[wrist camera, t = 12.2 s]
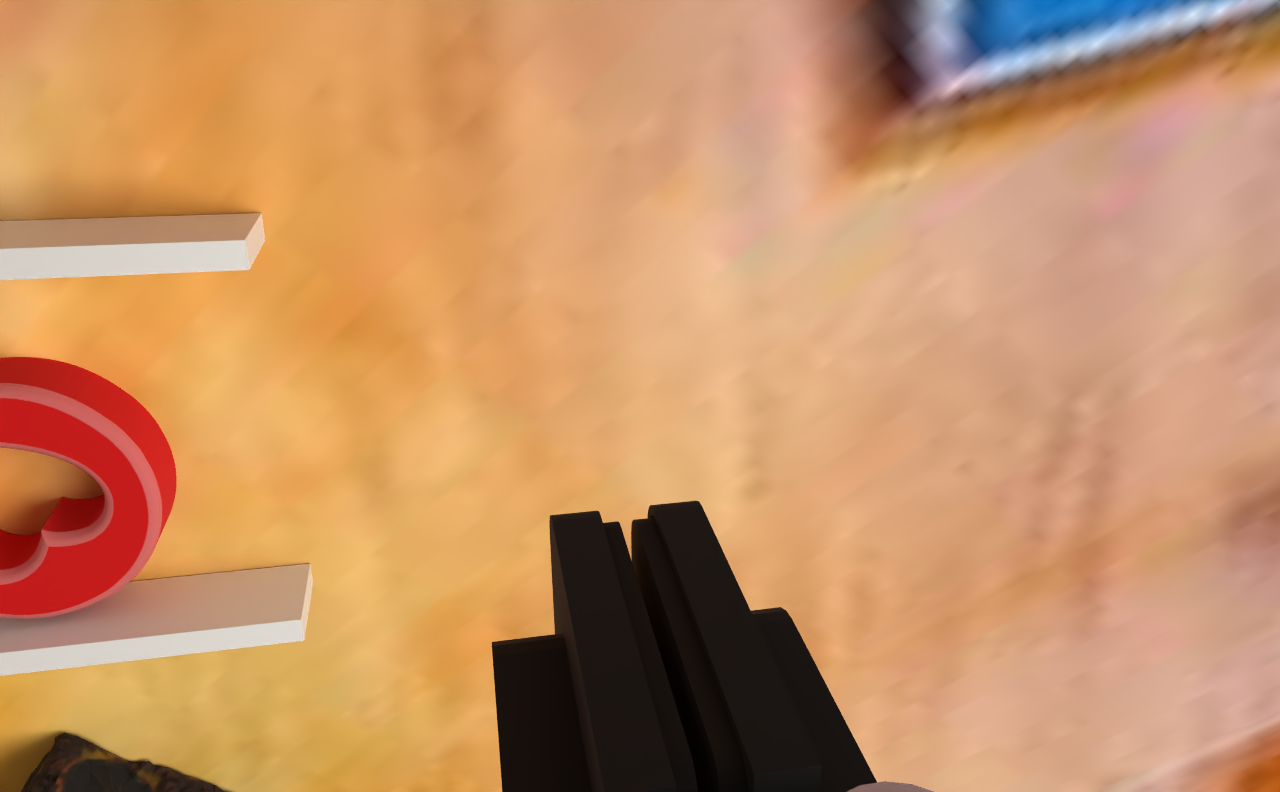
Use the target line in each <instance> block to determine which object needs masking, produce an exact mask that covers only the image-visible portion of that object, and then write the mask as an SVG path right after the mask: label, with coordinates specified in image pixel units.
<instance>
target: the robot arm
mask: <svg viewBox="0 0 1280 792" xmlns="http://www.w3.org/2000/svg"><path fill="white" fill-rule="evenodd" d="M631 542H632V561H631V558H630V555H629V551H628V548H627V545H626V542H625V538H624V535H623V532H622V529H621V526H620V523H619V522H609V523H603V522H602V519H601V515H600V513H599V511H590V512H580V513H570V514H560V515H550V544H551V564H552V584H553V603H554V623H555V635H547V636H538V637H530V638H522V639H513V640H505V641H497V642H492V652H493V666H494V680H495V694H496V708H497V722H498V736H499V749H500V763H501V777H502V791H503V792H933V791H930V790H927V789H924V788H921V787H918V786H915V785H912V784H904V783H895V782H878V783H877V781H876V779H875V778H874V776H873V774H872V772H871V770H870V768H869V766H868V764H867V762H866V760H865V758H864V756H863V754H862V753H861V751H860V749H859V747H858V745H857V743H856V741H855V739H854V737H853V735H852V733H851V731H850V730H849V728H848V726H847V724H846V722H845V720H844V718H843V716H842V714H841V712H840V710H839V708H838V707H837V705H836V703H835V701H834V699H833V697H832V695H831V693H830V691H829V689H828V687H827V685H826V683H825V682H824V680H823V678H822V676H821V674H820V672H819V670H818V668H817V666H816V664H815V662H814V660H813V659H812V657H811V655H810V653H809V651H808V649H807V647H806V645H805V643H804V641H803V639H802V637H801V636H800V634H799V632H798V630H797V628H796V626H795V624H794V622H793V620H792V618H791V617H790V616H789V614H788V613H787V611H786V610H784V609H783V608H781V607H779V608H770V609H762V610H754V611H750V609H749V606H748V604H747V602H746V600H745V598H744V596H743V594H742V591H741V589H740V587H739V585H738V583H737V581H736V579H735V576H734V574H733V572H732V570H731V568H730V566H729V563H728V561H727V559H726V557H725V555H724V553H723V551H722V548H721V546H720V544H719V542H718V540H717V538H716V536H715V533H714V531H713V529H712V527H711V525H710V523H709V520H708V518H707V516H706V514H705V512H704V510H703V508H702V506H701V504H700V502H699V501H689V502H679V503H669V504H659V505H650V507H649V510H648V519H638V520H633V521H632V530H631Z"/></svg>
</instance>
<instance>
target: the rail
mask: <svg viewBox="0 0 1280 792" xmlns="http://www.w3.org/2000/svg"><path fill="white" fill-rule="evenodd" d="M264 241H265V235H264V227H263V220H262V213H246V214H214V215H181V216H148V217H116V218H83V219H51V220H18V221H0V280H16V279H40V278H64V277H88V276H112V275H136V274H160V273H184V272H208V271H232V270H249V269H250V268H251V266H252V264H253V262H254V260H255V258H256V256H257V255H258V253H259V251H260V249H261V247H262V245H263V243H264ZM312 587H313V579H312V572H311V565H310V564H300V565H290V566H281V567H271V568H261V569H251V570H241V571H231V572H221V573H211V574H201V575H191V576H181V577H171V578H161V579H151V580H141V581H131V582H129V583H128V584H126V585H125V586H124V587H123V588H121V589H120V590H119V591H117V592H116V593H114V594H112V595H110V596H109V597H107V598H105V599H103V600H101V601H99V602H97V603H94V604H92V605H90V606H87V607H85V608H82V609H79V610H76V611H73V612H69V613H66V614H61V615H56V616H51V617H43V618H31V619H18V618H4V617H0V676H3V675H12V674H20V673H29V672H38V671H46V670H55V669H64V668H72V667H81V666H90V665H98V664H107V663H116V662H124V661H133V660H142V659H150V658H159V657H167V656H176V655H185V654H193V653H202V652H211V651H219V650H228V649H237V648H245V647H254V646H263V645H271V644H280V643H288V642H297V641H304V638H305V632H306V625H307V619H308V613H309V606H310V600H311V593H312Z"/></svg>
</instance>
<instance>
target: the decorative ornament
mask: <svg viewBox="0 0 1280 792" xmlns="http://www.w3.org/2000/svg"><path fill="white" fill-rule="evenodd" d="M0 447H2V448H11V449H20V450H26V451H32V452H37V453H42V454H46V455H49V456H53V457H56V458H59V459H62V460H64V461H67V462H69V463H72V464H74V465H76V466H77V467H79V468H81V469H82V470H84V471H85V472H87V473H88V474H89V475H90V476H91V477H92V478H94V479H95V481H96V482H97V483H98V484H99V485H100V487H101V488H102V490H103V492H104V495H103V496H100V497H96V498H90V499H70V498H66V497H62V498H61V500H60V502H59V503H58V505H57V506H56V508H55V509H54V511H53V512H52V514H51V515H50V517H49V518H48V520H47V521H46V523H45V524H44V526H43V527H42V529H41V532H38V533H35V534H30V535H16V534H11V533H8V532H5V531H3V530H0V617H4V618H18V619H31V618H43V617H51V616H56V615H61V614H66V613H69V612H73V611H76V610H79V609H82V608H85V607H87V606H90V605H92V604H94V603H97V602H99V601H101V600H103V599H105V598H107V597H109V596H110V595H112V594H114V593H116V592H117V591H119V590H120V589H121V588H123V587H124V586H125V585H126V584H128V583H129V582H130V581H131V580H132V579H133V578H134V577H135V576H136V575H137V574H138V573H139V572H140V571H141V569H142V568H143V567H144V565H145V564H146V563H147V561H148V560H149V558H150V556H151V555H152V553H153V551H154V548H155V546H156V544H157V542H158V539H159V537H160V535H161V533H162V530H163V528H164V526H165V523H166V521H167V519H168V517H169V514H170V512H171V509H172V506H173V503H174V498H175V493H176V468H175V463H174V459H173V455H172V452H171V449H170V446H169V444H168V442H167V440H166V438H165V436H164V434H163V432H162V430H161V429H160V427H159V425H158V424H157V422H156V421H155V419H154V418H153V417H152V416H151V414H150V413H149V412H148V411H147V410H146V409H145V408H144V407H143V406H142V405H141V404H140V403H139V402H138V401H137V400H136V399H134V398H133V397H132V396H131V395H129V394H128V393H127V392H125V391H124V390H122V389H121V388H119V387H118V386H116V385H115V384H113V383H111V382H110V381H108V380H106V379H104V378H103V377H101V376H99V375H97V374H95V373H92V372H90V371H88V370H86V369H83V368H80V367H77V366H75V365H71V364H68V363H64V362H60V361H55V360H50V359H42V358H31V357H9V358H0Z"/></svg>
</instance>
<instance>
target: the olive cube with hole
mask: <svg viewBox="0 0 1280 792" xmlns="http://www.w3.org/2000/svg"><path fill="white" fill-rule="evenodd" d="M21 792H224V791H223V790H221V789H219V788H218V787H217V786H215V785H212V784H209V783H206V782H203V781H201V780H198V779H195V778H192V777H189V776H186V775H183V774H181V773H179V772H177V771H175V770H173V769H170V768H166V767H159V766H154V765H153V764H152V763H150V762H149V761H148V762H140V763H134V762H128V761H126V760H124V759H122V758H120V757H118V756H116V755H114V754H112V753H110V752H107V751H105V750H103V749H101V748H100V747H98V746H96V745H94V744H93V743H90V742H88V741H85V740H84V739H82V738H80V737H77V736H72V735H69V734H67V733H64V734H61V735H59V736H57V737H56V738H55V744H54V747H53V748H52V750H51V751H50V752H49V753H48V754H46V755H45V756H44V758H43V759H42V761H41V762H40V764H39V765H38V767H37V768H36V770H35V771H34V772H33V773H32V774H31V775H30V777H29V779H28V781H27V783H26V784H25V786H24V788H23V790H22V791H21Z"/></svg>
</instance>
